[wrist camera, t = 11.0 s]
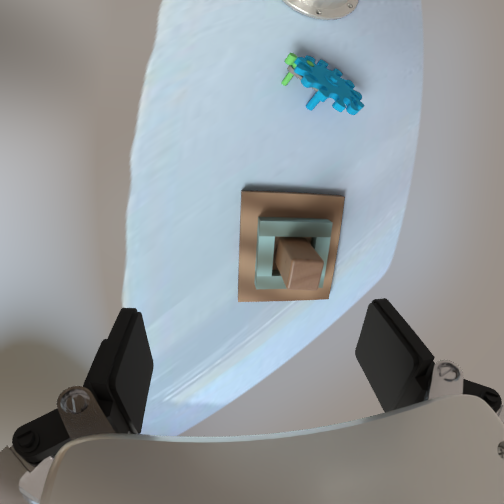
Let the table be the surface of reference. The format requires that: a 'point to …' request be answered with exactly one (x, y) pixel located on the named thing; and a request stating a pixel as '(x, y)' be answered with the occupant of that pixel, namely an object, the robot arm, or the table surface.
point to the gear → (323, 83)
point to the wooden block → (298, 264)
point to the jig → (285, 225)
